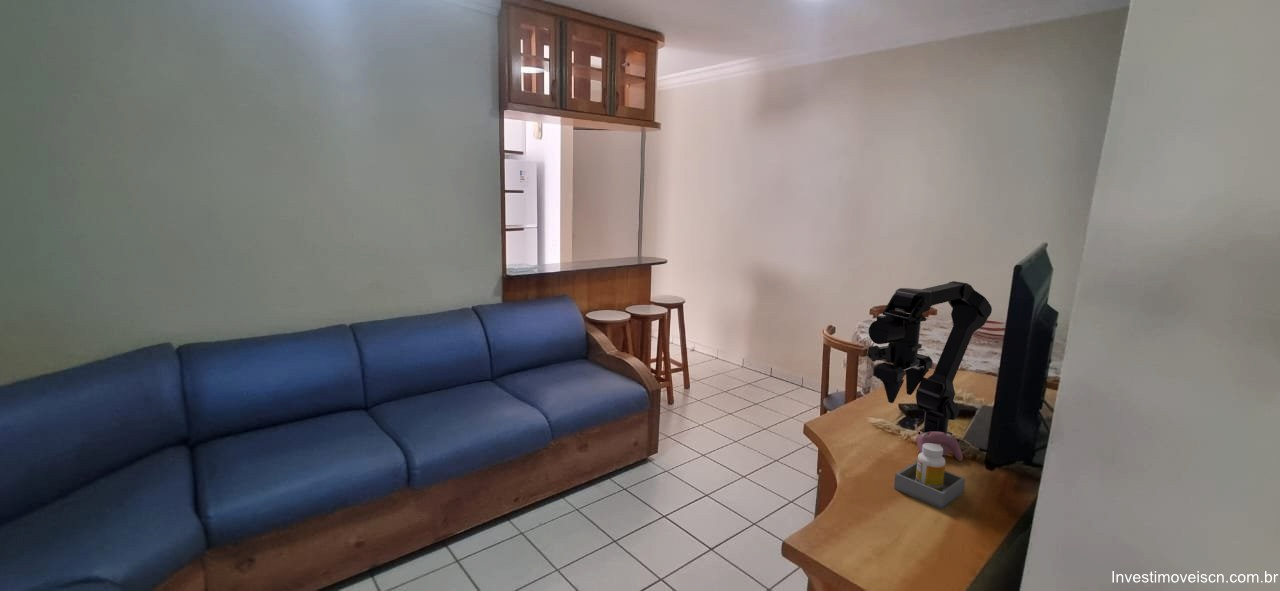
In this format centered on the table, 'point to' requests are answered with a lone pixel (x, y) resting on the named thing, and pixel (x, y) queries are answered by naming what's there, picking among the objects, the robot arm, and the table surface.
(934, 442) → the video game controller
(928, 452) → the supplement bottle
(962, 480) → the trough tray
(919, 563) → the table surface
